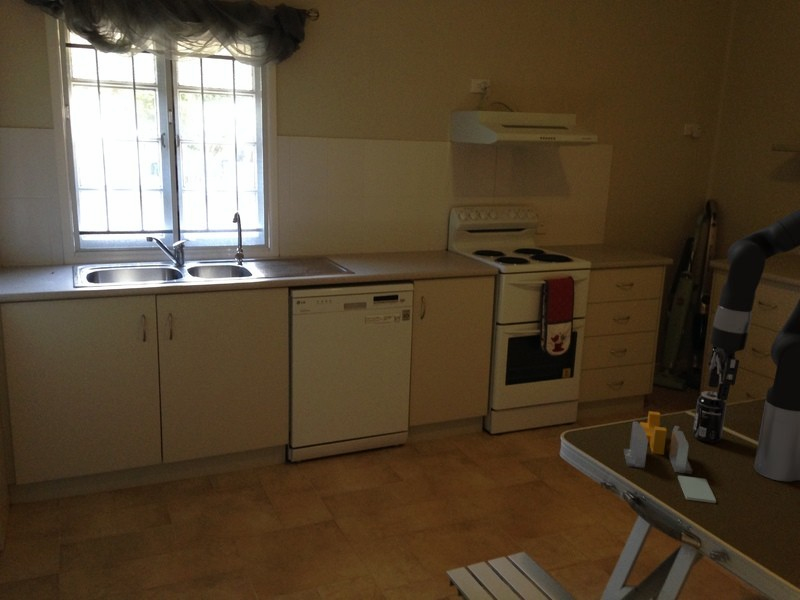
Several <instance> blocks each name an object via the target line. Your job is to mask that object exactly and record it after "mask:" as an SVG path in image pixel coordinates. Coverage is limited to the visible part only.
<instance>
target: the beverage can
mask: <svg viewBox="0 0 800 600" xmlns="http://www.w3.org/2000/svg"><path fill="white" fill-rule="evenodd" d="M700 394H701V395H699V396H698V397H697V402H696V410H695V415H694V421H693V430H692V435H693V436H694V437H695V438H696V439H697V440H699V441H701V442H703V443H708V444H710V443H711V444H712V443H717V442H718V441H720V440H721V439H722V435H723V430H724V423H725V419H726V418H725V417H726V412H727V411H726V410H727V400H719V399H717V397H716V396H717V391H710V390H709V391H707V390H706V391H701V393H700Z"/></svg>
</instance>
